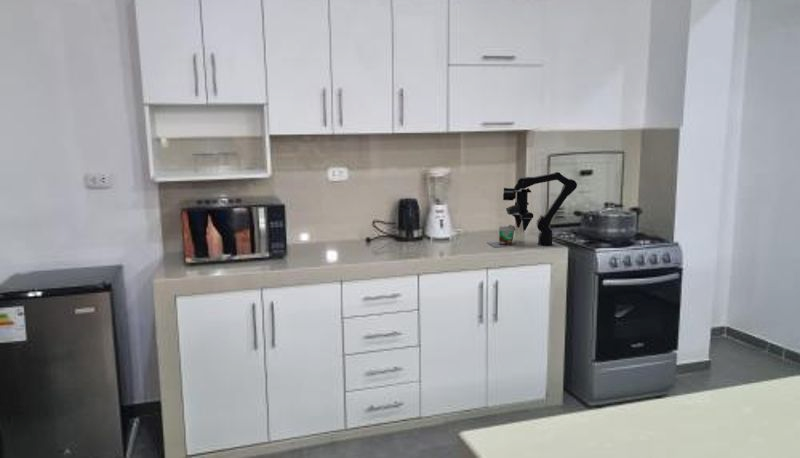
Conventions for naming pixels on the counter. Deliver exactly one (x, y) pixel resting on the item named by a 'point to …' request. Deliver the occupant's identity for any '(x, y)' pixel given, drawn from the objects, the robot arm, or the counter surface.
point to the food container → (506, 235)
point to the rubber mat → (495, 244)
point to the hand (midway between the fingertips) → (521, 228)
